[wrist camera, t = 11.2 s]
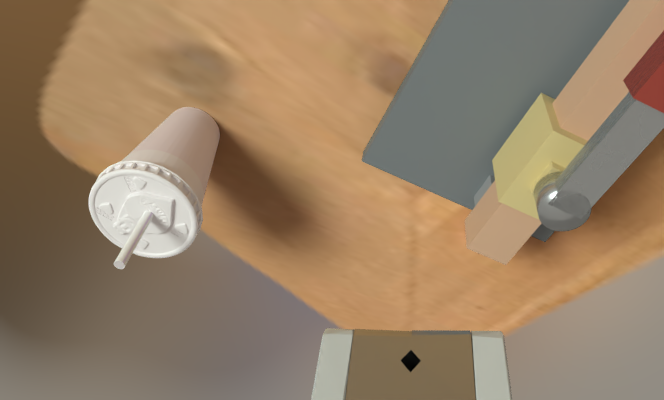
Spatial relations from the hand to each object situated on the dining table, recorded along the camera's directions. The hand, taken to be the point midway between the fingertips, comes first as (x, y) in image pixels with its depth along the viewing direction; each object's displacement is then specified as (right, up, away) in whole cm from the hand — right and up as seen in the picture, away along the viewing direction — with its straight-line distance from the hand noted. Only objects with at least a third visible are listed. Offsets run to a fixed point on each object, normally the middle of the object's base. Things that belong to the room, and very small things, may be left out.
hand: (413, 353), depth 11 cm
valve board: (+11, +10, +27) cm, 31 cm away
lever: (+13, +7, +20) cm, 25 cm away
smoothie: (-11, +7, +33) cm, 35 cm away
